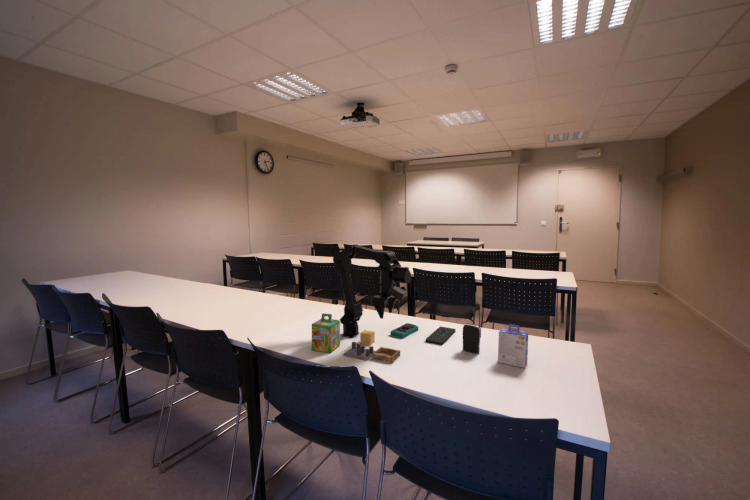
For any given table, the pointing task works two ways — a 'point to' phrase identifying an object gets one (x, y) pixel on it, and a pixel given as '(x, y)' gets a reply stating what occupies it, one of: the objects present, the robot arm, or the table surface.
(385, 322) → the table surface
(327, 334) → the chalk box
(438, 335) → the smart home device
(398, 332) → the digital multimeter
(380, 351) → the brown square tray
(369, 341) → the tan cardboard cube
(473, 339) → the battery charger
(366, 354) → the board
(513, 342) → the ink cartridge box
